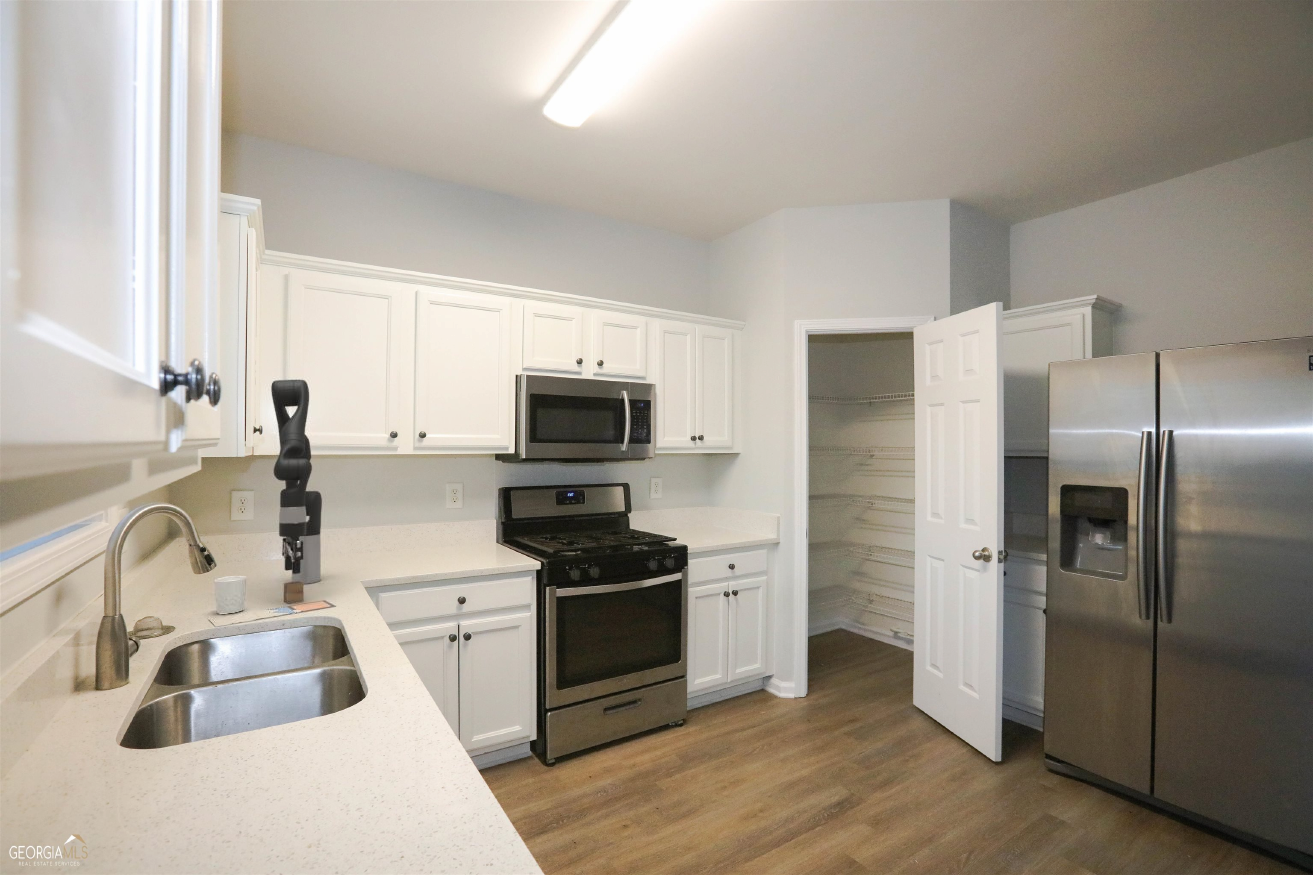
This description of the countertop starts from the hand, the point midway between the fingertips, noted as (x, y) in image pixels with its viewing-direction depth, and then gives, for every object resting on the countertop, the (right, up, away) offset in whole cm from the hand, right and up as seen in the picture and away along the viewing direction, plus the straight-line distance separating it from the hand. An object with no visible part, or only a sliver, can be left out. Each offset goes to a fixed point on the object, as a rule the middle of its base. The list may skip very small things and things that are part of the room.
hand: (292, 571), depth 201 cm
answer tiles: (+2, -9, -13) cm, 16 cm away
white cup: (-12, -10, -12) cm, 19 cm away
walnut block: (0, -10, 0) cm, 10 cm away
